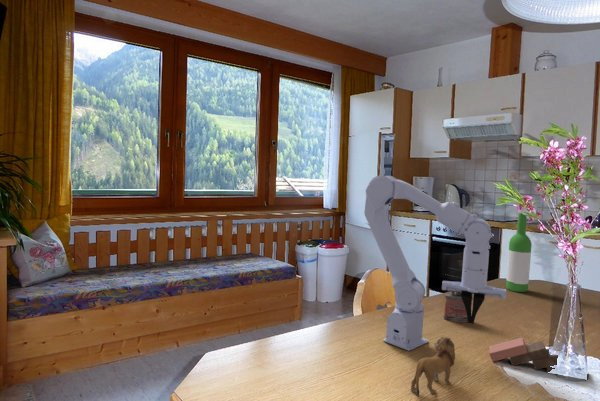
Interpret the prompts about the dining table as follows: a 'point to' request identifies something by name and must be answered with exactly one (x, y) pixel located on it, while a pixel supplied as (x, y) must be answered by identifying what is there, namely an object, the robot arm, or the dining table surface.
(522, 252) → the wine bottle
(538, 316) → the dining table surface
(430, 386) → the lion figurine
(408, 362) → the dining table surface
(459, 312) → the lighter
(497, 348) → the brick red domino
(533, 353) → the walnut domino
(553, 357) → the walnut domino
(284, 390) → the dining table surface
